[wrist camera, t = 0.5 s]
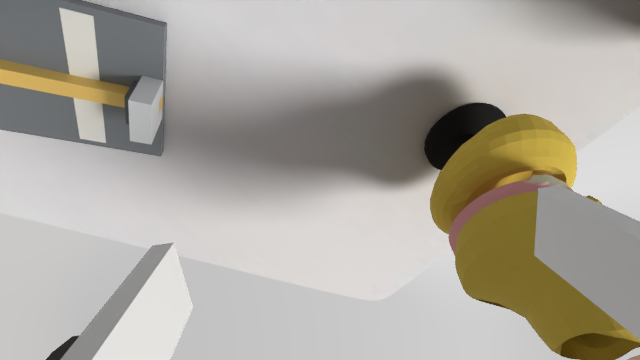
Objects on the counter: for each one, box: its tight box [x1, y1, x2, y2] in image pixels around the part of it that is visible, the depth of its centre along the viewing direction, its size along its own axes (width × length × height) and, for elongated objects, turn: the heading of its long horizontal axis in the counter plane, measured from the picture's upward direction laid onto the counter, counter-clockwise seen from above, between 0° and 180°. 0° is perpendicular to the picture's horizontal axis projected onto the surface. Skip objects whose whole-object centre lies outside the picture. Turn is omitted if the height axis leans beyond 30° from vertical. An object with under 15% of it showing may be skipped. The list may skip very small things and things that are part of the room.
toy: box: [425, 103, 640, 360], centre depth 26 cm, size 16×12×30 cm
